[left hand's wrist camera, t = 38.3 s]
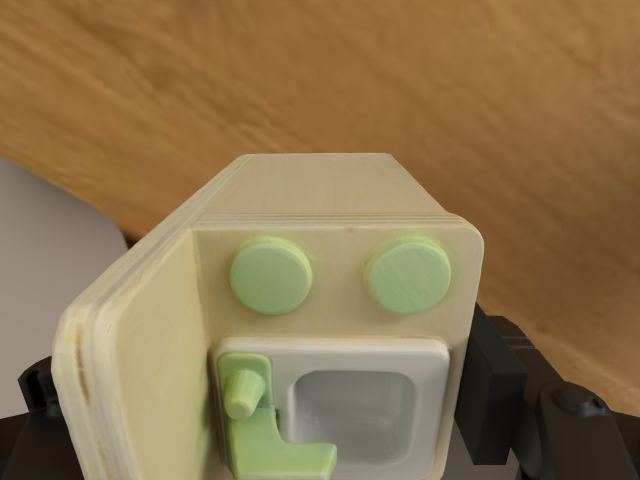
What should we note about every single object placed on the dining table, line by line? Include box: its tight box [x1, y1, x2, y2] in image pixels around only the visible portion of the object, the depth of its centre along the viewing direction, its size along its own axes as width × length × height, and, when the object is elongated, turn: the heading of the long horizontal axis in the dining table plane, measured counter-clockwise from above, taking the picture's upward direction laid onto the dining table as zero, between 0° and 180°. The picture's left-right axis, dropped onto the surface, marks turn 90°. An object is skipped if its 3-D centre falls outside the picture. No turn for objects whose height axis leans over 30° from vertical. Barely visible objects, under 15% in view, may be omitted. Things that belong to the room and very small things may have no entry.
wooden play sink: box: [51, 153, 484, 480], centre depth 12 cm, size 9×7×13 cm
